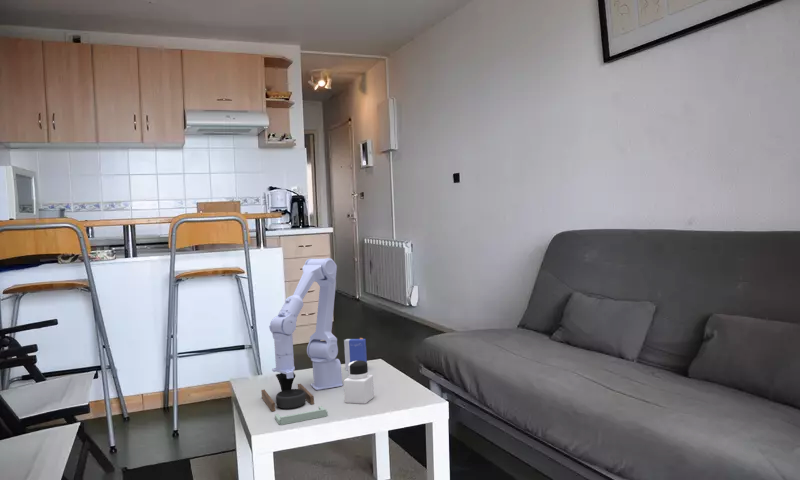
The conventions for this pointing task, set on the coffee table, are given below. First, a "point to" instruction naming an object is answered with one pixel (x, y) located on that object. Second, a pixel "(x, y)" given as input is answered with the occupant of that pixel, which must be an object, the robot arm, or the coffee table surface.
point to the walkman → (355, 350)
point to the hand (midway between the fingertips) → (286, 396)
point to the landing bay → (301, 416)
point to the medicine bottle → (358, 383)
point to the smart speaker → (290, 398)
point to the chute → (271, 403)
